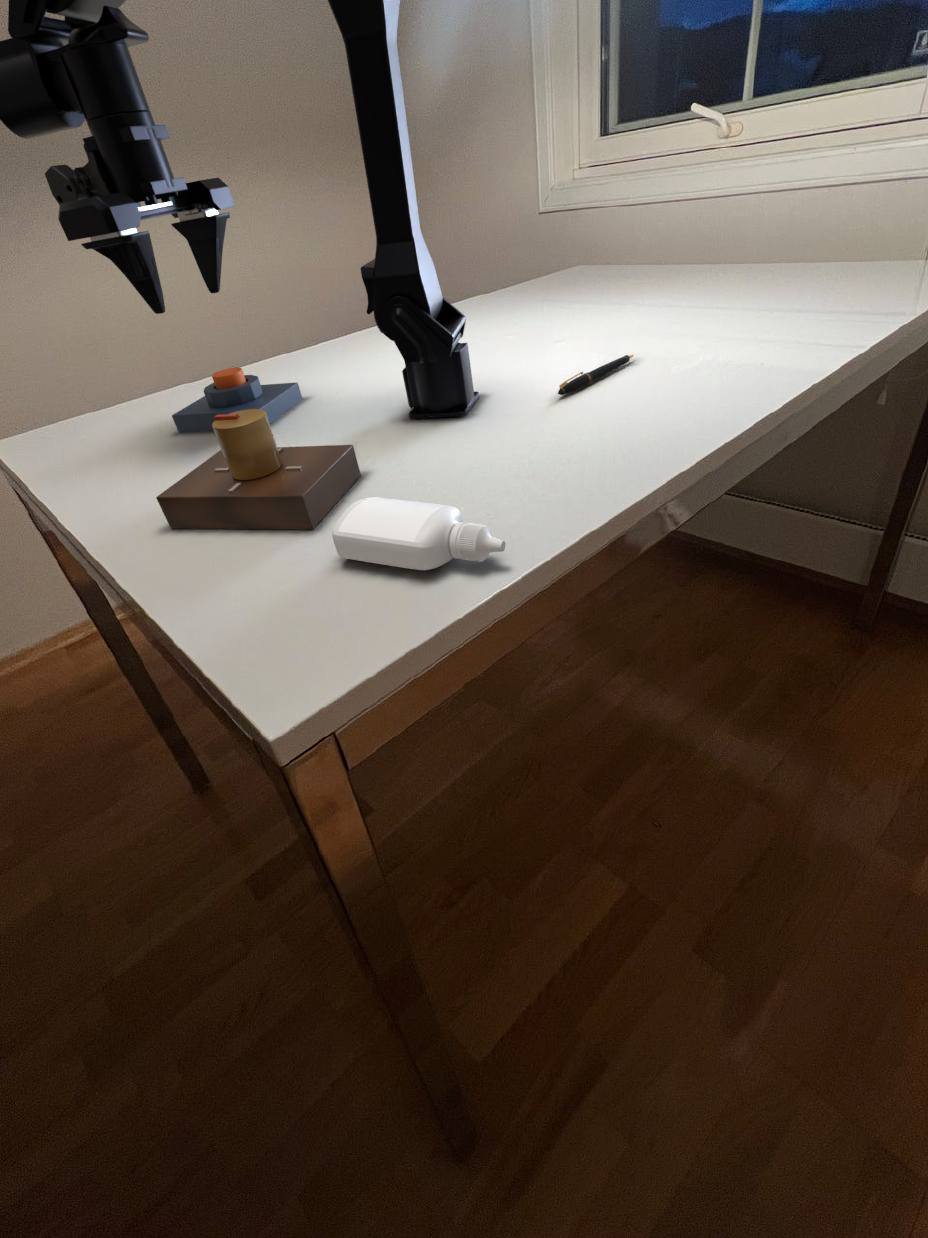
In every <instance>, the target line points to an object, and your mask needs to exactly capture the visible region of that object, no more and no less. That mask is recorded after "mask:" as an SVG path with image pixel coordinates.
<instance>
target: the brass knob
mask: <svg viewBox="0 0 928 1238" xmlns="http://www.w3.org/2000/svg"><path fill="white" fill-rule="evenodd" d="M214 419H215V421H214V422H213V424H212V427H213V429H214V431H213V432H214V434H215V437H216V440H217V442H218V445H219V447H220V450H222V452H223V455H224V458H225V460H226V463H227V465H228V468H229V471H230V473H231V476H232V477H233V478H234V479H236V480H252V479H257V478H261V477H264V476H267V475H269V474H271V473H273V472H275V471H277V470H278V469H279V468H280V467H281V466H282V460H281V457H280V454H279V451H278V448H277V447H278V446H277V443H276V442H277V441H276V439H275V436H274V434H273V433H274V432H273V430H272V428H271V424H269V421H268V418H267V415H266V412H265V411H264V410H261V409H247V410H241V411H237V412H233V413H230V414H221V415H216V416H215V417H214Z"/></svg>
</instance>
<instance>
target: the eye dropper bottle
mask: <svg viewBox="0 0 928 1238" xmlns="http://www.w3.org/2000/svg"><path fill="white" fill-rule="evenodd" d="M331 537H332V541H333V545H334V547H335V551H336V553H337V555H338V556H339V557H340V558H342V559H346V560H351V561H352V560H354V561H359V562H364V563H370V564H371V563H372V564H378V565H384V566H389V567H396V568H403V569H409V570H416V571H417V570H418V571H429V570H434V569H437V568H439V567H442V566H443V565H446V564H448V562H450V561H451V560H453V559H459V560H466V561H471V562H477V563H478V562H479V563H482V562H484V561H486V559H488V557H489V555H490V553H503V552H505V549H506V541H505V540H503V539H500V538H498V537H497V538H496V537H495V536H492V531H491V529H490V527H489V526H488V525H486V524H480V523H479V524H478V523H471V522H464V518H463V515H462V513H461V511H460V510H459V509H458V508H457V507H455V506H452V505H447V504H439V503H431V502H422V501H413V500H412V501H411V500H406V499H405V500H404V499H395V498H386V497H376V496H375V497H374V496H371V497H365V498H361V499H358V500H356V501H354V502H353V503H352V504H350V505H349V506H348V507H347V508H346V509H345V510H344V511H343V512H342V513H341V514H340V515H339V517H338V519H336V522H335V524H334V525H333V528H332V531H331Z"/></svg>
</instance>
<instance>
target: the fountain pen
mask: <svg viewBox="0 0 928 1238" xmlns="http://www.w3.org/2000/svg"><path fill="white" fill-rule="evenodd" d="M634 356H635V353H634V354H630V355H628V354H625V355H624V356H622V357H618V358H617V359H614V360H612V361H610V362H608V363H605V364H603V365H601V366H599V367H597V368H595V369H592V370H591V371H588V372H585V373H584V372H583V371H580V372H579V373H576V374H575V375H573V376H571V377H569V378H568V379H566V380H564V381H563V382H562V383H560V384H559V390H558V391H557V395H559V396H564V395H568V394H571V393H575V392H576V391H579V390H581V389H583V388H585V387H586V386H589V385H592V383H593V382H595V381H597V380H599V379H600V378H602V377H605V376H606V375H608V374H610V373H612V372H613V371H615V370H617V369H619V368H620V367H622V366H624V365H626V364H627V363H629V362H630V361H631V359H632V358H634Z"/></svg>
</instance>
